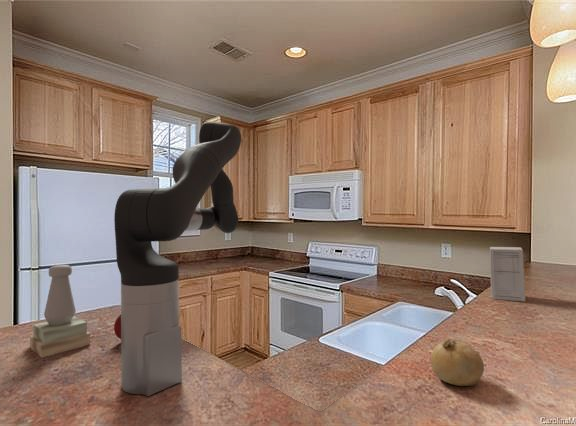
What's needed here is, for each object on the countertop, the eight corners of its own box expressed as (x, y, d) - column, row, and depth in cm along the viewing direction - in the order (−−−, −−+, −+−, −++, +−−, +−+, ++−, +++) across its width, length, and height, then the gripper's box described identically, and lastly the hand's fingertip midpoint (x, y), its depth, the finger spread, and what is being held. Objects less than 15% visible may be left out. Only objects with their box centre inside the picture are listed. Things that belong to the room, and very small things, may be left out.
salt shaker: (49, 329, 69) (49, 268, 70) (40, 324, 73) (40, 266, 73) (79, 322, 74) (79, 264, 74) (70, 318, 77) (69, 263, 78)
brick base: (90, 344, 74) (90, 322, 74) (41, 357, 67) (41, 333, 67) (75, 335, 80) (75, 315, 80) (29, 347, 73) (30, 324, 73)
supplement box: (523, 296, 112) (522, 247, 112) (526, 302, 104) (524, 249, 104) (490, 293, 117) (489, 246, 117) (490, 298, 109) (489, 248, 109)
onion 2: (438, 366, 60) (437, 327, 61) (488, 378, 55) (487, 336, 56) (425, 383, 54) (424, 340, 54) (479, 399, 49) (478, 352, 49)
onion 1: (130, 347, 71) (130, 311, 72) (107, 345, 73) (108, 309, 73) (147, 338, 77) (147, 304, 77) (126, 336, 78) (126, 303, 79)
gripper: (170, 207, 106) (119, 206, 93) (197, 205, 97) (145, 203, 84) (170, 230, 105) (119, 232, 93) (197, 231, 97) (145, 232, 84)
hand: (131, 218), depth 88 cm, fingers open, 8 cm apart
